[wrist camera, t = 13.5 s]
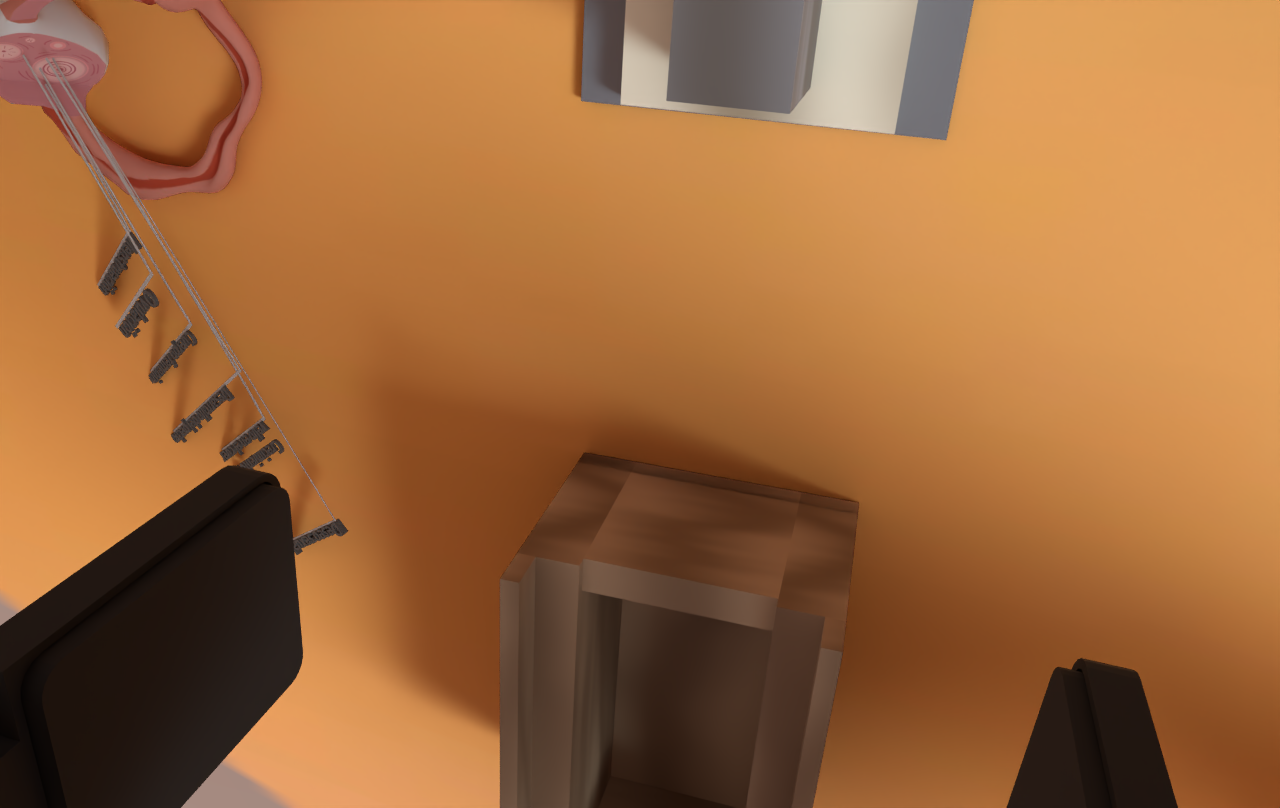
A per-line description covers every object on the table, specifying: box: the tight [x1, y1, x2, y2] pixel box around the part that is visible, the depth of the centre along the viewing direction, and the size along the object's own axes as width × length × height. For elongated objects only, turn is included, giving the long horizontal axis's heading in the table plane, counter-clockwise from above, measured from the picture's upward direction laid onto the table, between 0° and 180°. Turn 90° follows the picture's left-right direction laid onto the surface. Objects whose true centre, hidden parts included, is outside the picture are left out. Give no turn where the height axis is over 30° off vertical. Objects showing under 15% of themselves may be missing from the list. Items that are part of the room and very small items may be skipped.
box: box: [500, 453, 859, 808], centre depth 35 cm, size 10×16×8 cm, turn 176°
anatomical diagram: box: [0, 0, 348, 555], centre depth 36 cm, size 20×9×25 cm
